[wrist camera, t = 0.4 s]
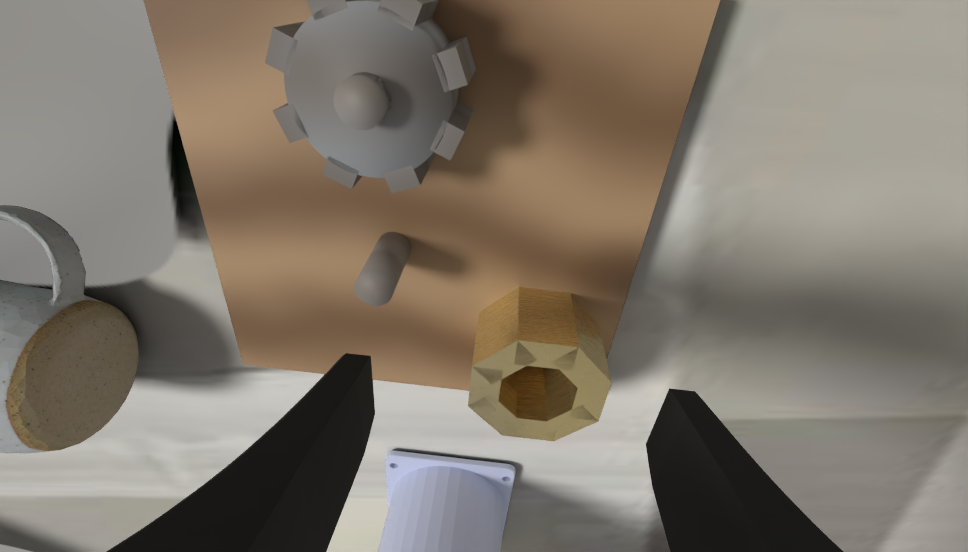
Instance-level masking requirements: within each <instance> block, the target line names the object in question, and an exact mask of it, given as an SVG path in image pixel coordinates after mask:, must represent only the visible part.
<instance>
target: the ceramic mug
mask: <svg viewBox="0 0 968 552" xmlns="http://www.w3.org/2000/svg"><path fill="white" fill-rule="evenodd" d="M0 219H1V220H6V221H10V222H12V223H14V224H17V225H18V226H20V227H21V228H23V229H25V230H26V231H28V232H29V233H31V234H32V235H33V236H34V237H35V238H36V239H38V240H39V242H40V243H41V244H42V245H43V247H44V249H45V251H46V253H47V255H48V257H49V259H50V263H51V271H52V274H53V281H54V283H53V290H52V289H44V288H38V287H32V286H27V285H23V284H18V283H13V282H8V281H3V280H0V453H36V452H46V451H55V450H62V449H64V448H67V447H70V446H73V445H76V444H79V443H81V442H83V441H84V440H86V439H87V438H89V437H91V436H92V435H93V434H95V433H96V432H98V431H99V430H101V429H102V428H103V427H104V426H105V425H106V424H107V423H108V422H109V421H110V420H111V418H112V417H113V416H114V415H115V414H116V413H117V412H118V410H119V409H120V407H121V406H122V404H123V403H124V401H125V400H126V398H127V396H128V394H129V392H130V389H131V387H132V385H133V381H134V378H135V375H136V372H137V367H138V361H139V348H138V339H137V335H136V332H135V330H134V328H133V325H132V324H131V322H130V321H129V320H128V318H127V317H126V316H125V314H124V313H123V312H122V311H120V310H119V309H118V308H116V307H114V306H112V305H110V304H108V303H105V302H102V301H99V300H96V299H94V298H91V297H88V296H85V295H84V287H85V274H86V272H85V268H84V265H83V263H82V258H81V255H80V253H79V251H80V250H79V248H78V246H77V244H76V243H75V241H74V240H73V238H72V237H71V236H70V235H69V234H68V232H67V231H66V230H65V229H64V228H63V227H61V226H60V225H59V224H58V223H56V222H55V221H54V220H52V219H51V218H49V217H47V216H45V215H43V214H42V213H39V212H37V211H34V210H30V209H27V208H23V207H18V206H7V205H6V206H5V205H3V206H0Z"/></svg>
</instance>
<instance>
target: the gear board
mask: <svg viewBox="0 0 968 552" xmlns="http://www.w3.org/2000/svg"><path fill="white" fill-rule="evenodd" d="M144 3H145V7H146V11H147V14H148V18H149V22H150V25H151V29H152V33H153V36H154V40H155V43H156V47H157V51H158V55H159V58H160V62H161V66H162V69H163V73H164V77H165V80H166V84H167V87H168V91H169V95H170V98H171V102H172V106H173V110H174V113H175V117H176V120H177V124H178V128H179V131H180V135H181V139H182V142H183V146H184V150H185V153H186V157H187V161H188V164H189V168H190V172H191V175H192V179H193V183H194V186H195V190H196V194H197V197H198V201H199V205H200V208H201V212H202V216H203V219H204V223H205V226H206V230H207V234H208V237H209V241H210V245H211V248H212V252H213V256H214V259H215V263H216V267H217V270H218V274H219V278H220V281H221V285H222V289H223V292H224V296H225V300H226V303H227V307H228V311H229V314H230V318H231V322H232V325H233V329H234V332H235V336H236V340H237V343H238V347H239V351H240V354H241V358H242V362H243V365H252V366H260V367H269V368H278V369H286V370H295V371H303V372H312V373H321V374H326V373H327V372H328V371H329V370H330V368H331V367H332V366H333V365H334V364H335V363H336V362H337V361H338V360H339V359H340V358H341V356H343V355H344V354H346V353H349V354H359V355H368V356H371V365H372V380H381V381H390V382H398V383H407V384H415V385H424V386H433V387H441V388H450V389H458V390H467V391H470V382H471V372H472V363H473V355H474V348H475V340H476V333H477V325H478V317H479V312H480V311H481V310H483V309H484V308H486V307H488V306H489V305H491V304H492V303H494V302H496V301H497V300H499V299H500V298H502V297H503V296H505V295H507V294H508V293H510V292H511V291H513V290H515V289H516V288H518V287H524V288H533V289H542V290H551V291H560V292H569V293H571V294H572V295H573V296H574V297H575V299H576V300H577V301H578V302H579V303H580V304H581V305H582V307H583V308H584V309H585V310H586V311H587V312H588V313H589V315H590V316H591V317H592V318H593V319H594V320H595V322H596V323H597V324H598V325H599V328H600V333H601V337H602V342H603V347H604V351H605V356H606V359H607V356H608V353H609V350H610V347H611V343H612V340H613V337H614V334H615V331H616V328H617V325H618V321H619V318H620V315H621V312H622V309H623V306H624V303H625V299H626V296H627V293H628V290H629V287H630V284H631V280H632V277H633V274H634V271H635V268H636V265H637V262H638V258H639V255H640V252H641V249H642V246H643V243H644V239H645V236H646V233H647V230H648V227H649V224H650V221H651V217H652V214H653V211H654V208H655V205H656V202H657V199H658V195H659V192H660V189H661V186H662V183H663V180H664V176H665V173H666V170H667V167H668V164H669V161H670V158H671V154H672V151H673V148H674V145H675V142H676V139H677V135H678V132H679V129H680V126H681V123H682V120H683V117H684V113H685V110H686V107H687V104H688V101H689V98H690V95H691V91H692V88H693V85H694V82H695V79H696V76H697V72H698V69H699V66H700V63H701V60H702V57H703V54H704V50H705V47H706V44H707V41H708V38H709V35H710V31H711V28H712V25H713V22H714V19H715V16H716V13H717V9H718V6H719V3H720V0H144Z"/></svg>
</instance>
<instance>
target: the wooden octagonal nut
mask: <svg viewBox="0 0 968 552" xmlns="http://www.w3.org/2000/svg"><path fill="white" fill-rule="evenodd" d="M610 386H611V378H610V374H609V369H608V365H607V360H606V356H605V351H604V347H603V342H602V337H601V333H600V328H599V325H598V324H597V323H596V322H595V320H594V319H593V318H592V317H591V316H590V315H589V313H588V312H587V311H586V310H585V309H584V308H583V307H582V305H581V304H580V303H579V302H578V301H577V300H576V299H575V297H574V296H573V295H572V294H571V293H569V292H560V291H551V290H542V289H533V288H524V287H518V288H516V289H515V290H513V291H511V292H510V293H508V294H507V295H505V296H503V297H502V298H500V299H499V300H497V301H496V302H494V303H492V304H491V305H489V306H488V307H486V308H484V309H483V310H481V311H480V312H479V317H478V325H477V333H476V340H475V348H474V355H473V363H472V372H471V382H470V392H469V402H468V406H469V407H470V408H471V409H472V410H473V411H474V412H476V413H477V414H478V415H479V416H480V417H481V418H483V419H484V420H485V421H486V422H487V423H488V424H490V425H491V426H492V427H493V428H494V429H495V430H497V431H498V432H499V433H500V434H501V435H505V436H513V437H522V438H531V439H539V440H548V441H555V440H557V439H560V438H562V437H564V436H566V435H569V434H571V433H573V432H575V431H578V430H580V429H582V428H584V427H587V426H589V425H591V424H593V423H596V422H598V421H599V418H600V415H601V412H602V409H603V406H604V403H605V400H606V397H607V394H608V391H609V389H610Z"/></svg>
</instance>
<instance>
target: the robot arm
mask: <svg viewBox="0 0 968 552" xmlns="http://www.w3.org/2000/svg"><path fill="white" fill-rule="evenodd" d="M374 415H375V409H374V394H373V380H372V365H371V356H368V355H359V354H349V353H346V354H344V355H343V356H341V358H340V359H339V360H338V361H337V362H336V363H335V364H334V365H333V366H332V367H331V368H330V370H329V371H328V372H327V373H326V374H325V375H324V376H323V377H322V378H321V379H320V380H319V381H318V382H317V383H316V384H315V385H314V386H313V388H312V389H311V390H310V391H309V392H308V393H307V394H306V395H305V396H304V397H303V398H302V399H301V400H300V401H299V402H298V403H297V404H296V405H295V406H294V407H293V408H292V409H291V410H290V411H288V412H287V413H286V414H285V415H284V416H283V417H282V418H281V419H280V420H279V421H278V422H277V423H276V424H275V425H274V426H273V427H272V428H271V429H269V430H268V431H267V432H266V433H265V434H264V435H263V436H262V437H261V438H259V439H258V440H257V441H256V442H255V443H254V444H253V445H252V446H250V447H249V448H248V449H247V450H246V451H245V452H244V453H242V454H241V455H240V456H239V457H238V458H236V459H235V460H234V461H233V462H232V463H231V464H229V465H228V466H227V467H226V468H224V469H223V470H222V471H221V472H219V473H218V474H217V475H216V476H214V477H213V478H212V479H210V480H209V481H208V482H207V483H205V484H204V485H203V486H201V487H200V488H199V489H197V490H196V491H195V492H193V493H192V494H191V495H189V496H188V497H187V498H185V499H184V500H182V501H181V502H180V503H178V504H177V505H175V506H174V507H173V508H171V509H170V510H169V511H167V512H166V513H164V514H163V515H162V516H160V517H159V518H157V519H156V520H154V521H153V522H151V523H150V524H149V525H147V526H146V527H144V528H143V529H141V530H140V531H138V532H137V533H135V534H133V535H132V536H130V537H129V538H127V539H126V540H124V541H122V542H121V543H119V544H118V545H116V546H115V547H113V548H112V549H110V550H108V551H107V552H326V551H327V548H328V545H329V543H330V540H331V537H332V535H333V532H334V530H335V527H336V525H337V522H338V520H339V517H340V515H341V512H342V509H343V507H344V504H345V502H346V499H347V497H348V494H349V492H350V489H351V487H352V484H353V481H354V479H355V476H356V474H357V471H358V469H359V466H360V463H361V461H362V458H363V456H364V453H365V449H366V445H367V442H368V438H369V434H370V430H371V427H372V423H373V419H374ZM646 447H647V454H648V461H649V468H650V474H651V480H652V486H653V490H654V494H655V498H656V501H657V505H658V508H659V512H660V516H661V519H662V523H663V526H664V530H665V533H666V537H667V540H668V544H669V547H670V551H671V552H843V551H842V550H841V549H840V548H839V547H838V546H837V545H836V544H835V543H833V542H832V541H831V540H830V539H829V538H828V537H827V536H826V535H825V534H824V533H823V532H822V531H821V530H820V529H819V528H818V527H817V526H816V525H815V524H814V523H813V522H812V521H811V520H810V519H809V518H808V517H807V516H806V515H805V514H804V513H803V512H802V511H801V510H800V509H799V508H798V507H797V506H796V505H795V504H794V503H793V502H792V501H791V500H790V499H789V498H788V497H787V496H786V495H785V493H784V492H783V491H782V490H781V489H780V488H779V487H778V486H777V485H776V484H775V483H774V482H773V481H772V479H771V478H770V477H769V476H768V475H767V474H766V473H765V472H764V471H763V470H762V468H761V467H760V466H759V465H758V464H757V463H756V462H755V461H754V459H753V458H752V457H751V456H750V455H749V454H748V453H747V451H746V450H745V449H744V448H743V447H742V446H741V445H740V443H739V442H738V441H737V440H736V439H735V438H734V436H733V435H732V434H731V433H730V432H729V431H728V429H727V428H726V427H725V426H724V425H723V423H722V422H721V421H720V420H719V419H718V418H717V416H716V415H715V414H714V413H713V412H712V410H711V409H710V408H709V407H708V406H707V405H706V403H705V402H704V401H703V400H702V399H701V398H700V397H699V395H698V394H697V393H696V392H695V391H686V390H677V389H669V391H668V393H667V396H666V398H665V400H664V403H663V405H662V408H661V410H660V412H659V415H658V417H657V419H656V422H655V424H654V427H653V429H652V431H651V434H650V436H649V438H648V441H647V443H646ZM386 477H387V498H388V513H387V517H386V521H385V525H384V528H383V532H382V536H381V540H380V544H379V548H378V552H501V541H502V536H503V531H504V526H505V521H506V517H507V512H508V507H509V502H510V497H511V493H512V488H513V483H514V478H515V467H514V466H512V465H510V464H504V463H495V462H487V461H479V460H470V459H462V458H453V457H445V456H436V455H428V454H419V453H411V452H402V451H389V452H388V453H387V456H386Z"/></svg>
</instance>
